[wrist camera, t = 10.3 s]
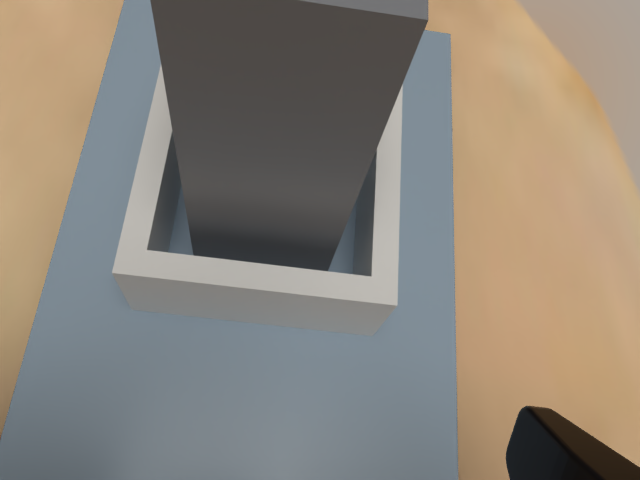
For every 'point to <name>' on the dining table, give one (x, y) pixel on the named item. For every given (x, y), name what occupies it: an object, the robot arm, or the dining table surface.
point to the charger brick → (280, 116)
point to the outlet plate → (241, 312)
